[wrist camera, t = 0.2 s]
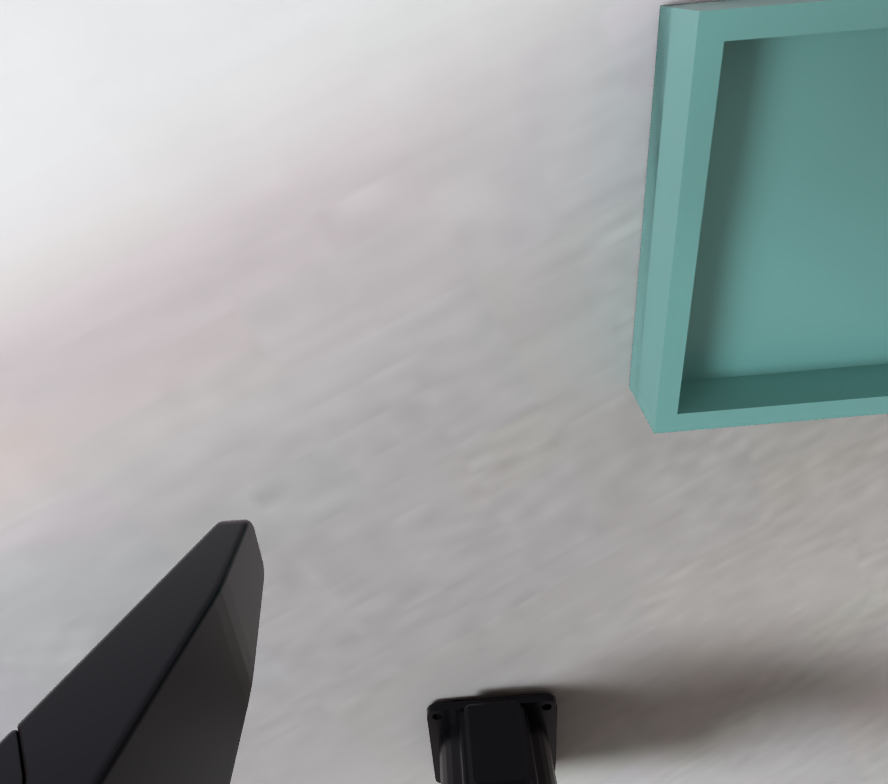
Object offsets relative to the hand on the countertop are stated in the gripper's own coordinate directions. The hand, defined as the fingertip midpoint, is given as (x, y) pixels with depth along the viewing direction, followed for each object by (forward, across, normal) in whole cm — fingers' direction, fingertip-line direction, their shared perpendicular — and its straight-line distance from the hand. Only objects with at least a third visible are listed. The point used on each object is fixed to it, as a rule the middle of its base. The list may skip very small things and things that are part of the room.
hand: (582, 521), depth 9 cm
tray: (+15, -11, +1) cm, 19 cm away
